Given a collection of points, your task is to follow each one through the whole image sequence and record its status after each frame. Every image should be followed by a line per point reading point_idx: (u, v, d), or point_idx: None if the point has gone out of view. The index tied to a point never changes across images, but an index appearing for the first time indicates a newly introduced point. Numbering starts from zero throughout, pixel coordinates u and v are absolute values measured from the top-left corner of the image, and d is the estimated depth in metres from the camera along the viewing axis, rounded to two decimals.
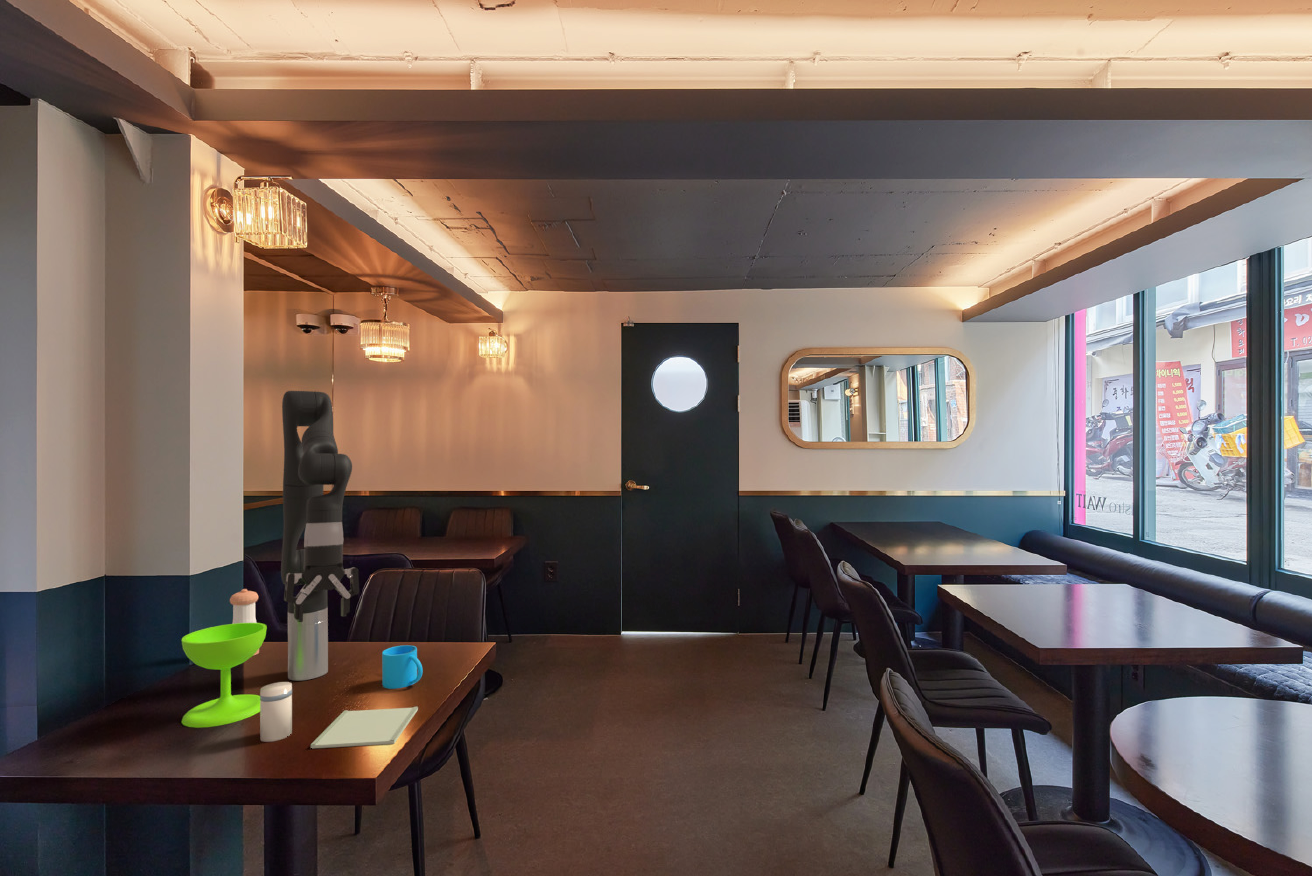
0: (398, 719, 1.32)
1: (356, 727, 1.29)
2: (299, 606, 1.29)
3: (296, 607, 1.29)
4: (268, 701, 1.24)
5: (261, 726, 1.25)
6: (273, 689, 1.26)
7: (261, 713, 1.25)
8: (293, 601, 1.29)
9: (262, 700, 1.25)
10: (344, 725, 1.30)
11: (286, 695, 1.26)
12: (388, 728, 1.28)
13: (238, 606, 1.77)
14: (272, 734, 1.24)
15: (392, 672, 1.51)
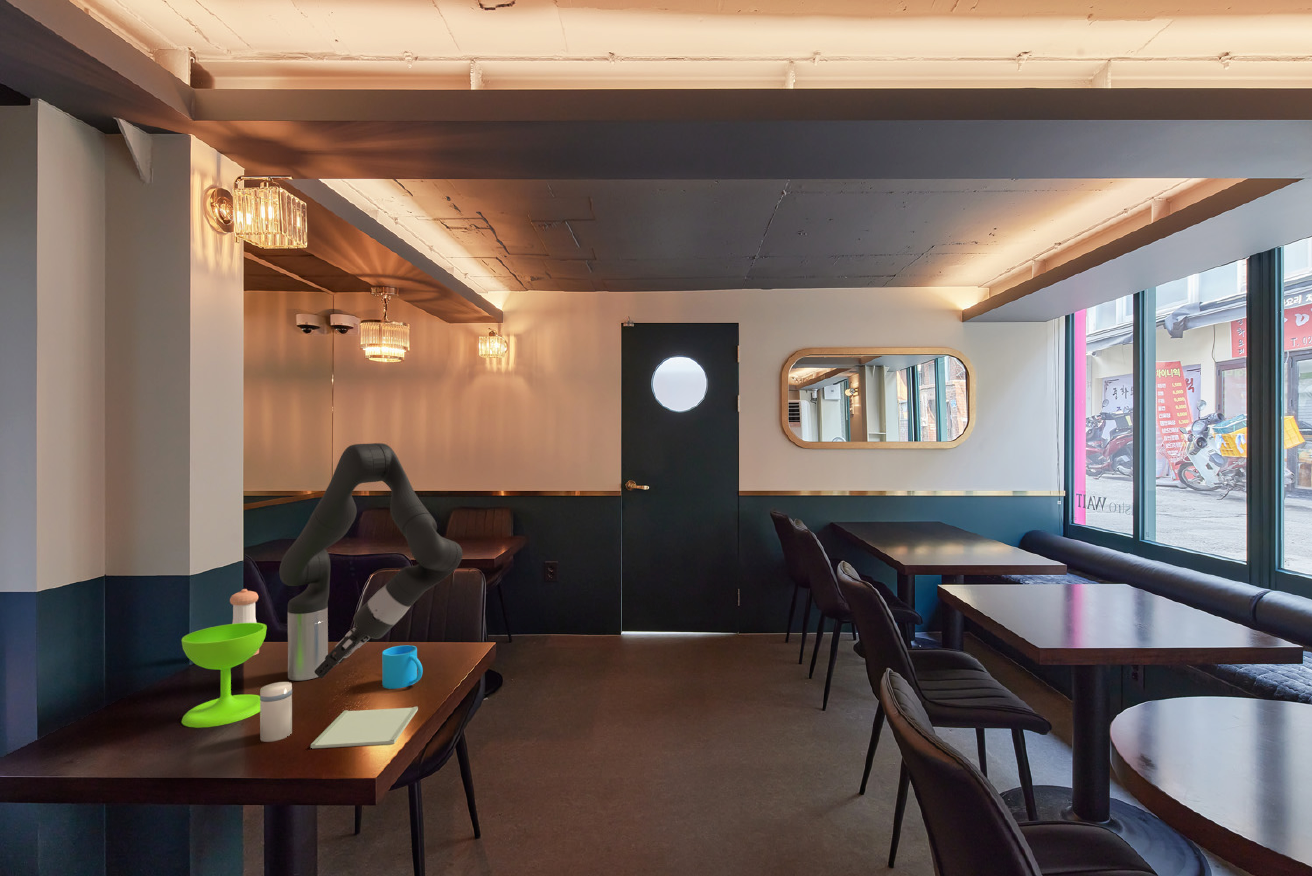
0: (398, 719, 1.32)
1: (356, 727, 1.29)
2: (333, 666, 1.24)
3: (330, 667, 1.24)
4: (268, 701, 1.24)
5: (261, 726, 1.25)
6: (273, 689, 1.26)
7: (261, 713, 1.25)
8: None
9: (262, 700, 1.25)
10: (344, 725, 1.30)
11: (286, 695, 1.26)
12: (388, 728, 1.28)
13: (238, 606, 1.77)
14: (272, 734, 1.24)
15: (392, 672, 1.51)
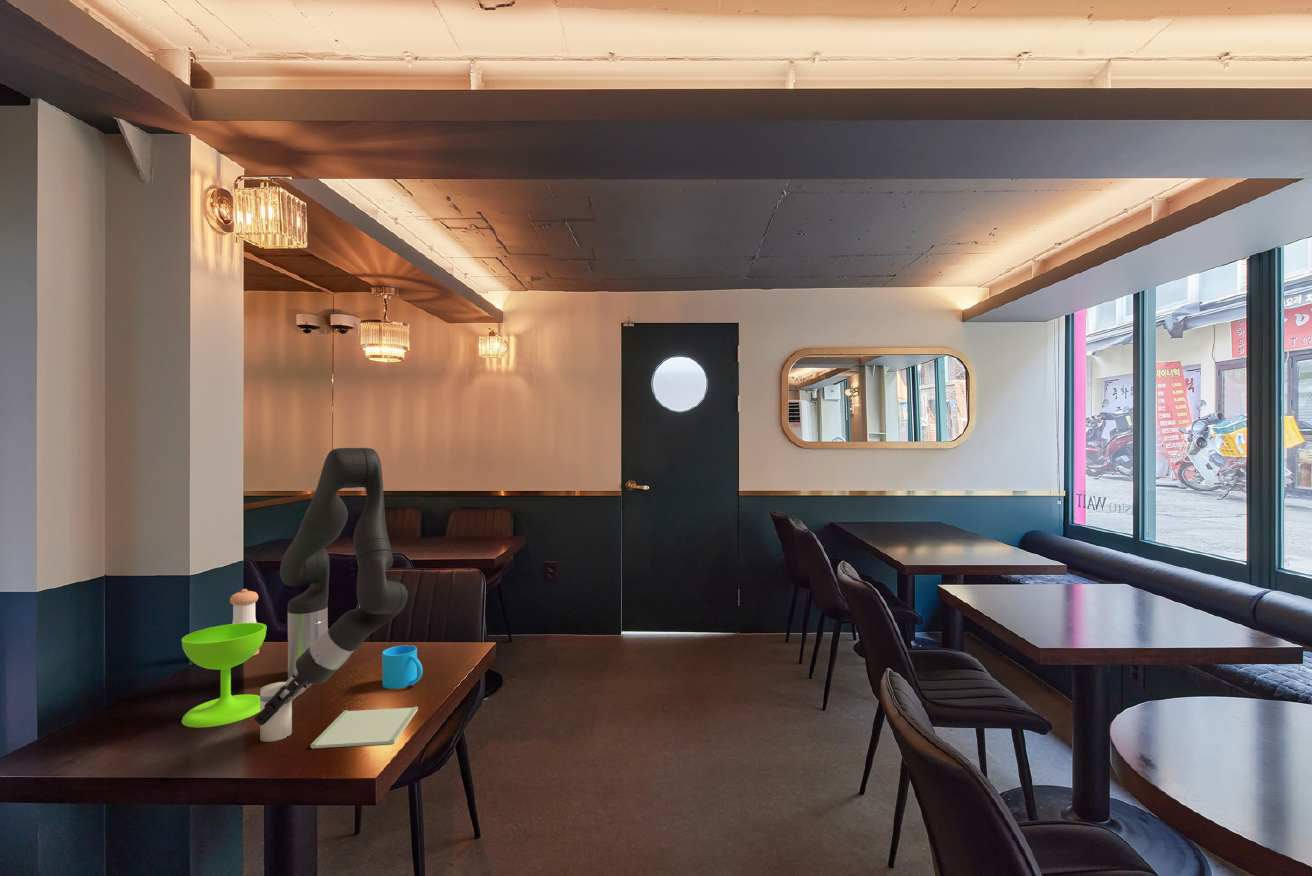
0: (398, 719, 1.32)
1: (356, 727, 1.29)
2: (273, 713, 1.24)
3: (270, 714, 1.23)
4: (268, 701, 1.24)
5: (261, 726, 1.25)
6: (273, 689, 1.26)
7: None
8: None
9: (262, 700, 1.25)
10: (344, 725, 1.30)
11: None
12: (388, 728, 1.28)
13: (238, 606, 1.77)
14: (272, 734, 1.24)
15: (392, 672, 1.51)
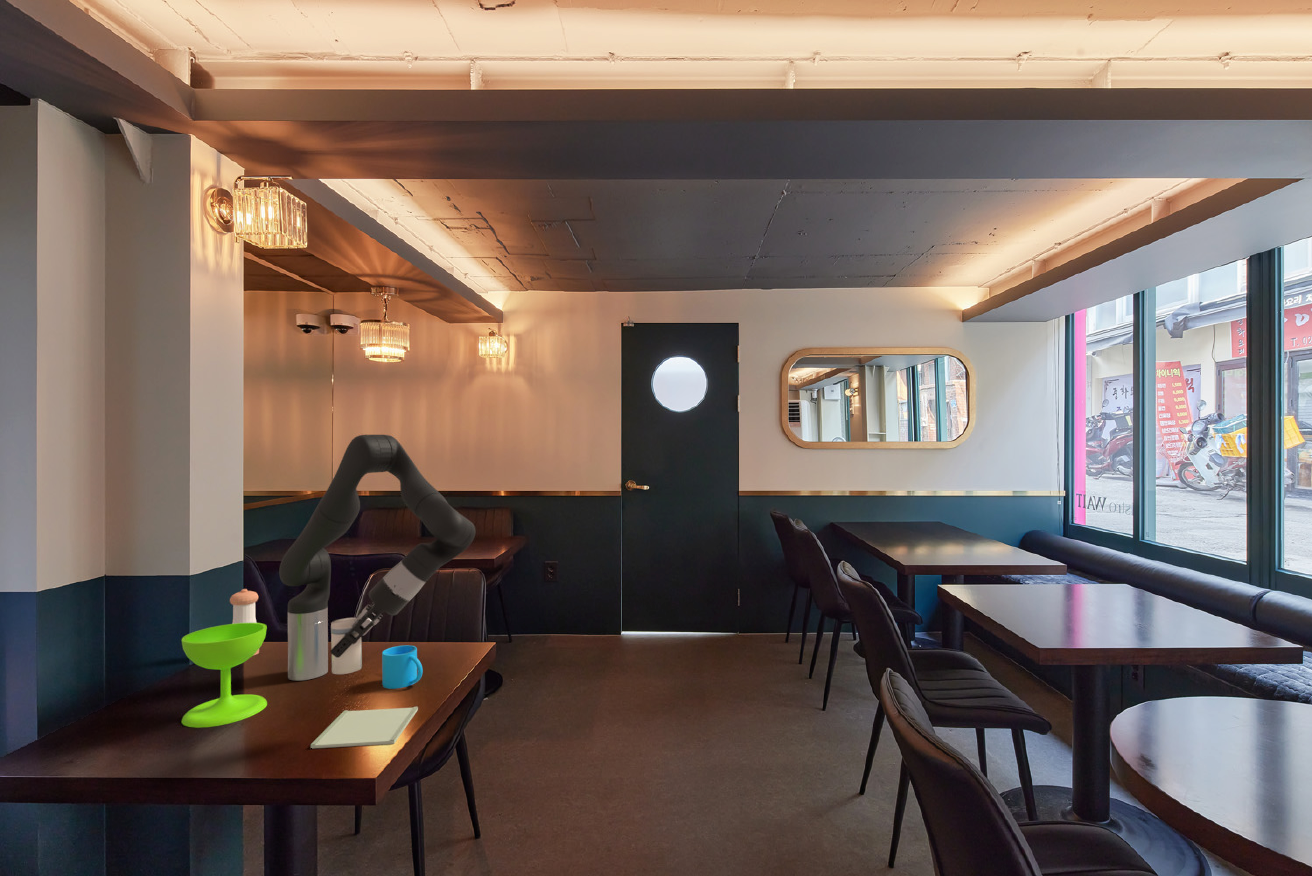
0: (398, 719, 1.32)
1: (356, 727, 1.29)
2: (350, 645, 1.25)
3: (347, 645, 1.24)
4: (343, 633, 1.25)
5: (334, 659, 1.25)
6: (345, 622, 1.27)
7: None
8: None
9: (336, 633, 1.25)
10: (344, 725, 1.30)
11: None
12: (388, 728, 1.28)
13: (238, 606, 1.77)
14: (348, 666, 1.25)
15: (392, 672, 1.51)
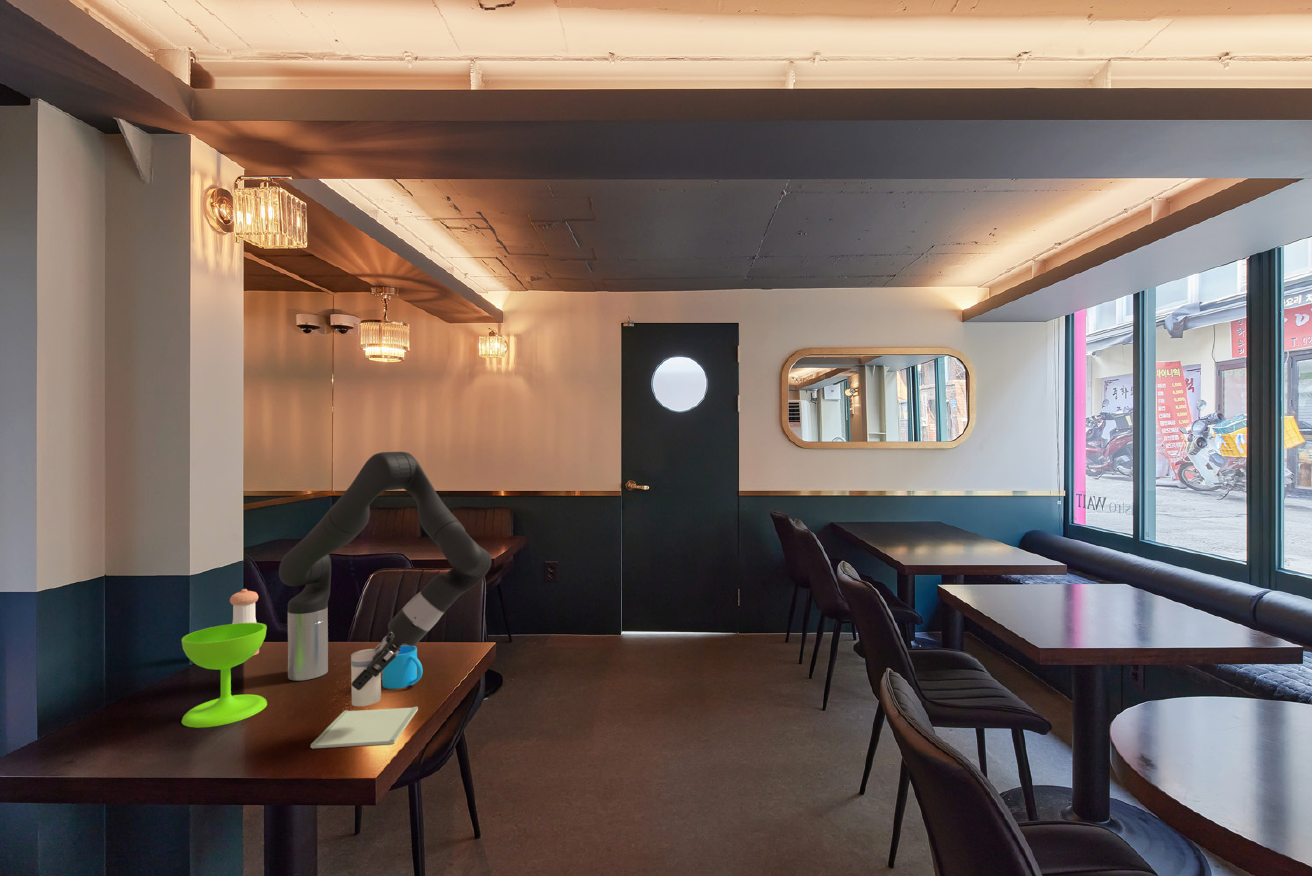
0: (398, 719, 1.32)
1: (356, 727, 1.29)
2: (371, 677, 1.26)
3: (369, 678, 1.26)
4: (364, 666, 1.26)
5: (355, 692, 1.26)
6: (366, 654, 1.28)
7: None
8: None
9: (357, 666, 1.26)
10: (344, 725, 1.30)
11: None
12: (388, 728, 1.28)
13: (238, 606, 1.77)
14: (368, 698, 1.27)
15: (392, 672, 1.51)
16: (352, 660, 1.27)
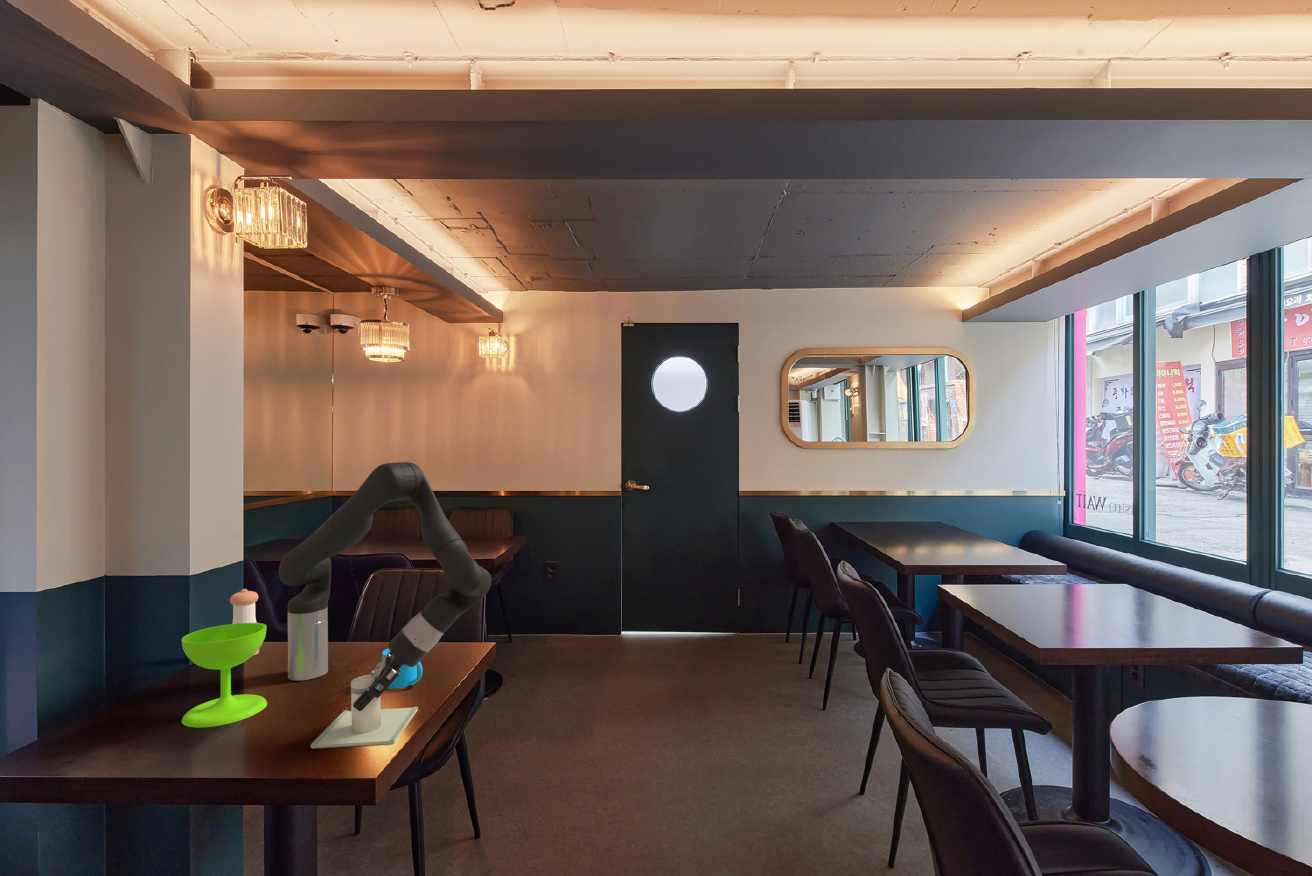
0: (398, 719, 1.32)
1: None
2: (372, 698, 1.25)
3: None
4: None
5: (355, 719, 1.26)
6: (366, 681, 1.28)
7: None
8: None
9: (357, 693, 1.26)
10: (344, 725, 1.30)
11: (379, 686, 1.29)
12: (388, 728, 1.28)
13: (238, 606, 1.77)
14: (368, 725, 1.26)
15: None
16: (352, 687, 1.27)
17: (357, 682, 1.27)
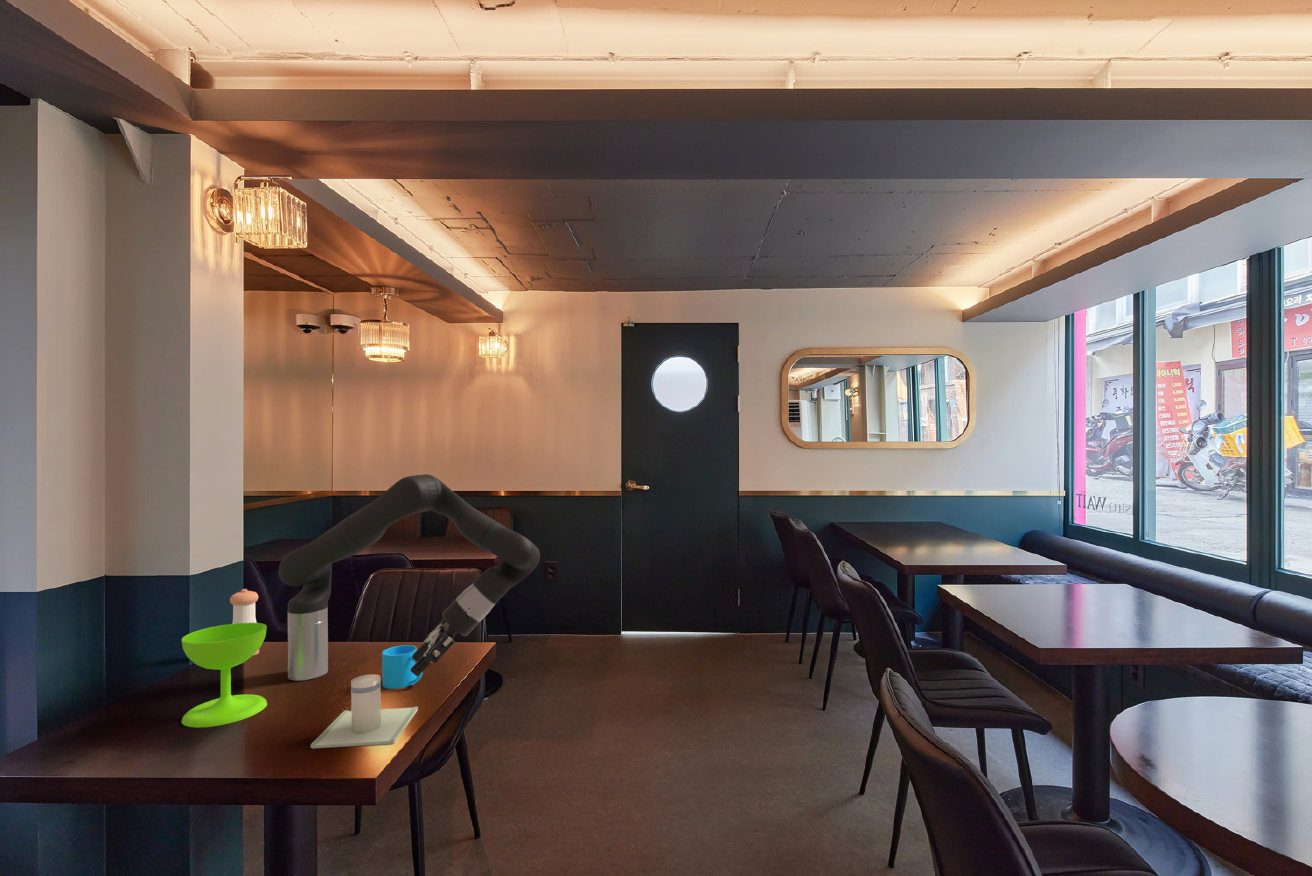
0: (398, 719, 1.32)
1: None
2: None
3: None
4: (364, 692, 1.26)
5: (355, 718, 1.26)
6: (365, 681, 1.28)
7: (355, 705, 1.26)
8: None
9: (356, 692, 1.26)
10: (344, 725, 1.30)
11: (379, 686, 1.29)
12: (388, 728, 1.28)
13: (238, 606, 1.77)
14: (368, 725, 1.26)
15: (392, 672, 1.51)
16: (352, 686, 1.27)
17: (357, 681, 1.27)
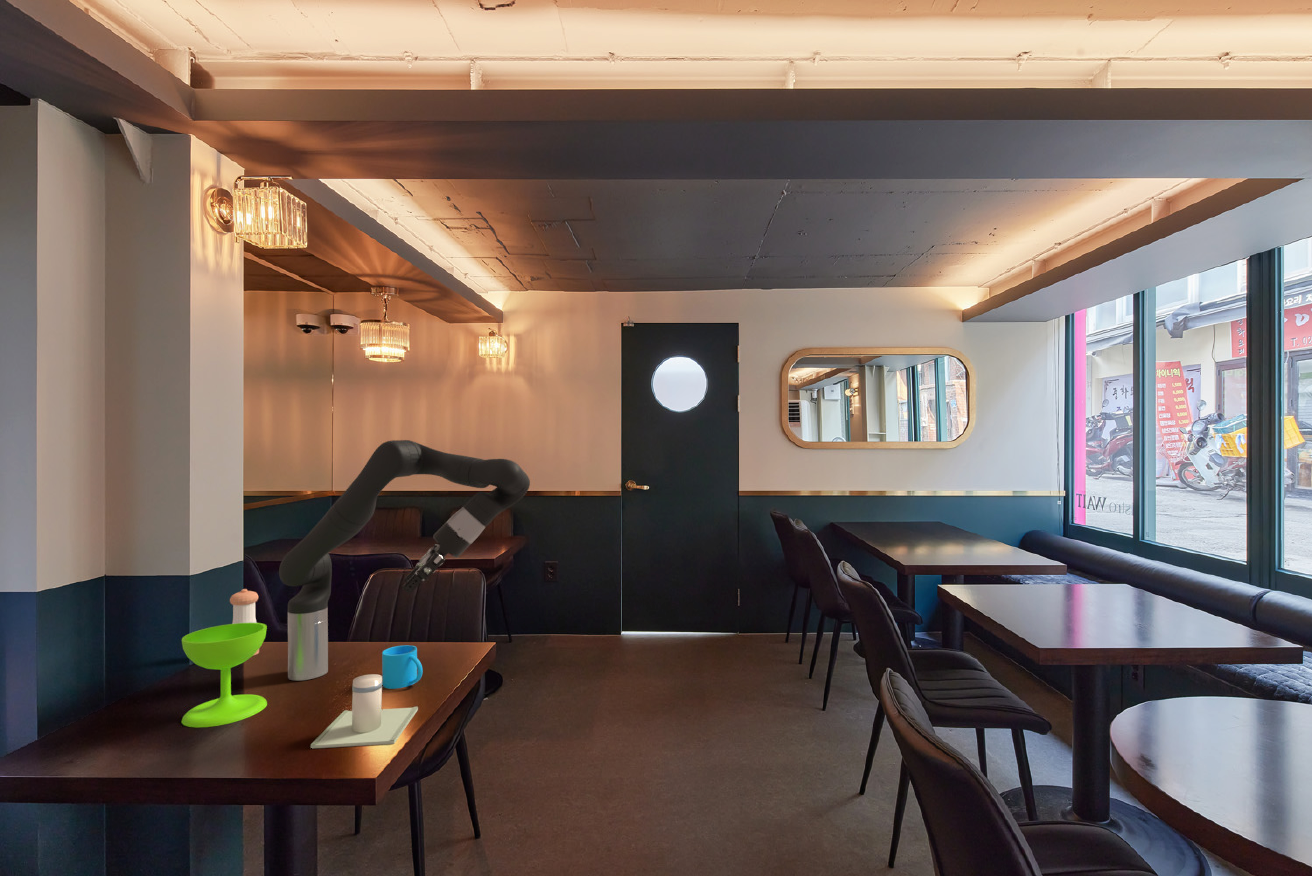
0: (398, 719, 1.32)
1: None
2: (420, 582, 1.32)
3: (418, 582, 1.32)
4: (365, 692, 1.26)
5: (355, 718, 1.26)
6: (367, 680, 1.28)
7: (356, 705, 1.26)
8: None
9: (358, 692, 1.26)
10: (344, 725, 1.30)
11: (380, 686, 1.29)
12: (388, 728, 1.28)
13: (238, 606, 1.77)
14: (368, 725, 1.26)
15: (392, 672, 1.51)
16: (353, 686, 1.27)
17: (359, 681, 1.28)
